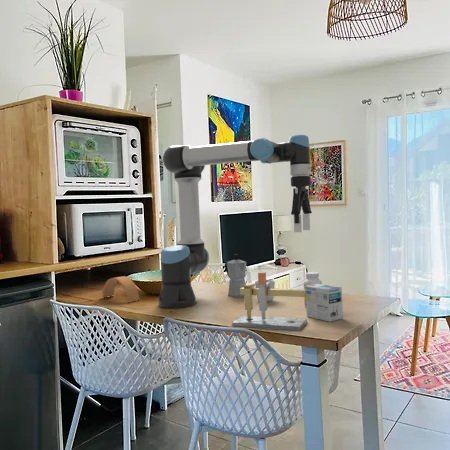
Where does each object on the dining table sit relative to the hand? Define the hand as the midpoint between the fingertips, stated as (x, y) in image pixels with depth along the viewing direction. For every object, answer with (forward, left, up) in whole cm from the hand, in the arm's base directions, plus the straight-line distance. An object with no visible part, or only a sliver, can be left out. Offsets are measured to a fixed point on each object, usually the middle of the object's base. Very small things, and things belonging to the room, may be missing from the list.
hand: (302, 231), depth 177 cm
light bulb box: (+12, -21, -28) cm, 37 cm away
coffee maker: (-33, +11, -28) cm, 45 cm away
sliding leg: (-5, -32, -26) cm, 42 cm away
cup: (-16, 0, -28) cm, 33 cm away
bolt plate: (-3, -34, -28) cm, 44 cm away
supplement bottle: (+5, -6, -28) cm, 29 cm away
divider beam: (-3, -33, -27) cm, 42 cm away
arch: (-80, -9, -28) cm, 86 cm away
